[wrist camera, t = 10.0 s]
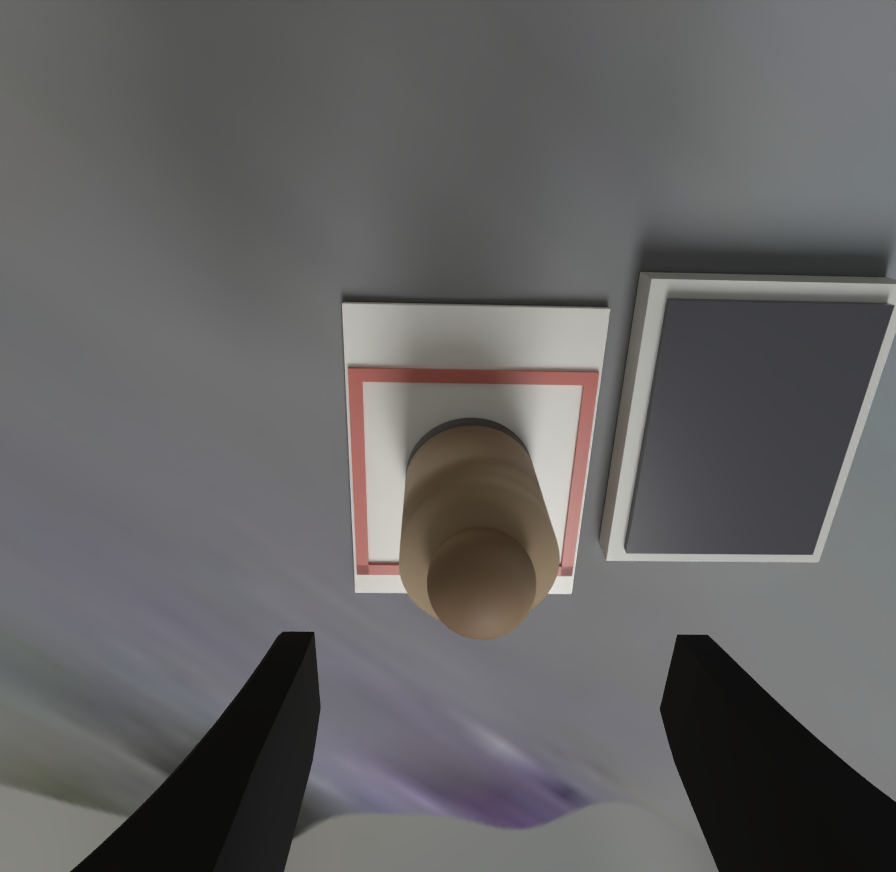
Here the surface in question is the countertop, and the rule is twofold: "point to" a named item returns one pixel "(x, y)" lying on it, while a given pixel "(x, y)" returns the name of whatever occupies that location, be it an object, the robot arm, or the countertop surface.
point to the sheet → (467, 408)
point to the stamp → (475, 529)
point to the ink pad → (742, 413)
